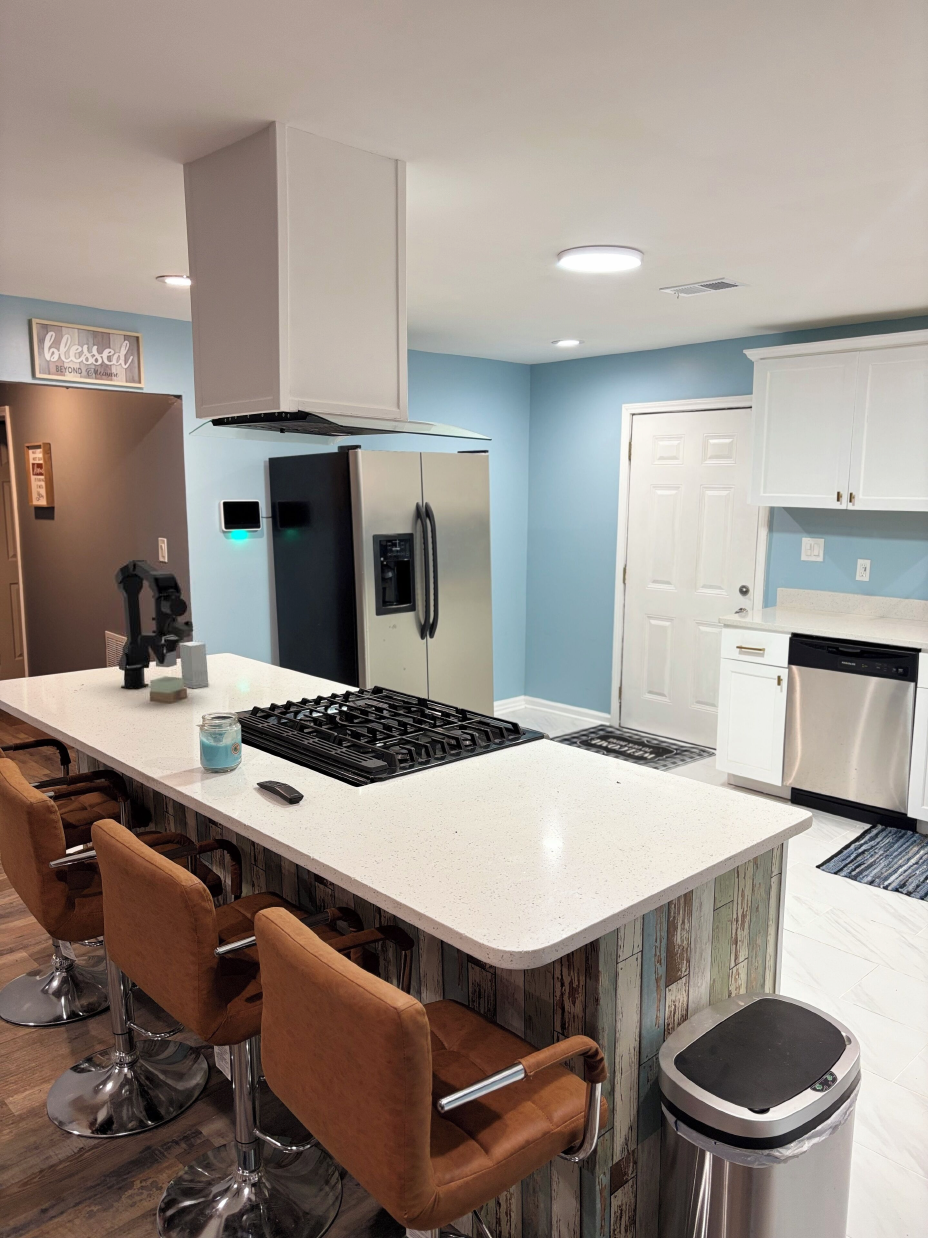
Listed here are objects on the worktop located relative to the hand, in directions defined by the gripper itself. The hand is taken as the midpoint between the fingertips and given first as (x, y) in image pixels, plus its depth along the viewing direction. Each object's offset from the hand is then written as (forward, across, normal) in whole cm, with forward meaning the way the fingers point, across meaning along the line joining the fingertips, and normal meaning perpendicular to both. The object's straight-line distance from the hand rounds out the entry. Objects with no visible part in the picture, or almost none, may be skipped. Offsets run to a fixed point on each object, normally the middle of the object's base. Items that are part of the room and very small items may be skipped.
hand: (166, 662), depth 284 cm
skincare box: (+12, +20, +4) cm, 24 cm away
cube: (+1, 0, 0) cm, 1 cm away
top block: (+9, 0, 0) cm, 9 cm away
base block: (+12, 0, 0) cm, 12 cm away
